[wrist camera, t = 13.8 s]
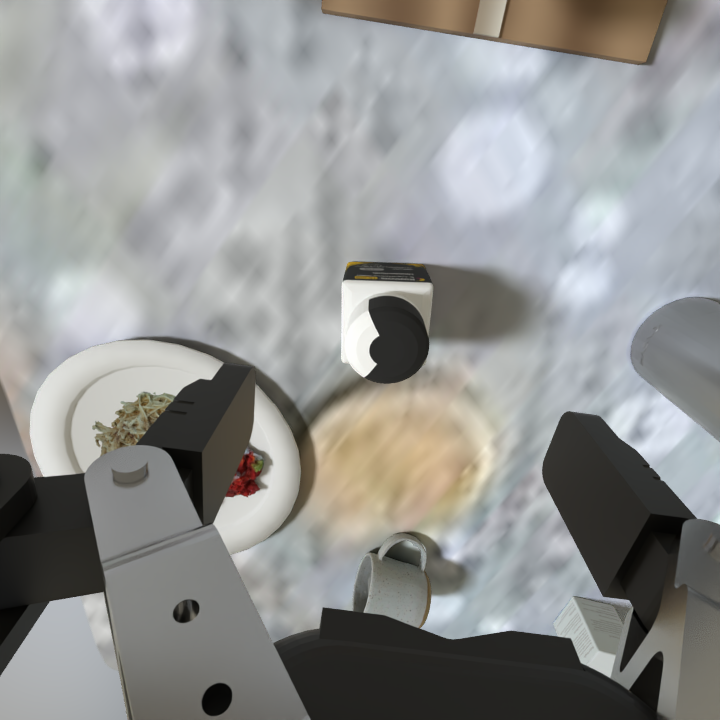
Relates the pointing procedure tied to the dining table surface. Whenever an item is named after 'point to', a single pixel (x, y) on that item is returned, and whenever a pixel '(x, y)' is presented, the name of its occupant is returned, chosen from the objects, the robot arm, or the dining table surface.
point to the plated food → (142, 408)
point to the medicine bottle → (385, 319)
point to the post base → (526, 22)
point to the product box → (591, 632)
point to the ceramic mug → (393, 585)
